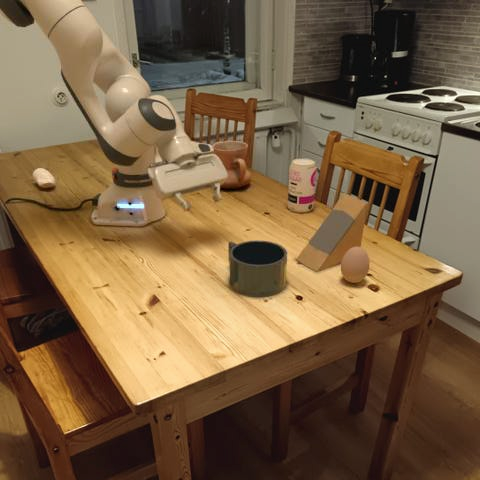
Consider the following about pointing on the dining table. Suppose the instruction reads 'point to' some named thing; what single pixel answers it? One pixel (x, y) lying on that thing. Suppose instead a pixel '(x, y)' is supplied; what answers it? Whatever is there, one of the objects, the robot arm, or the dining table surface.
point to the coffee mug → (257, 268)
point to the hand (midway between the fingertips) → (203, 205)
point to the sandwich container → (336, 234)
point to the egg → (355, 265)
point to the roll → (43, 178)
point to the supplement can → (301, 185)
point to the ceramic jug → (233, 163)
